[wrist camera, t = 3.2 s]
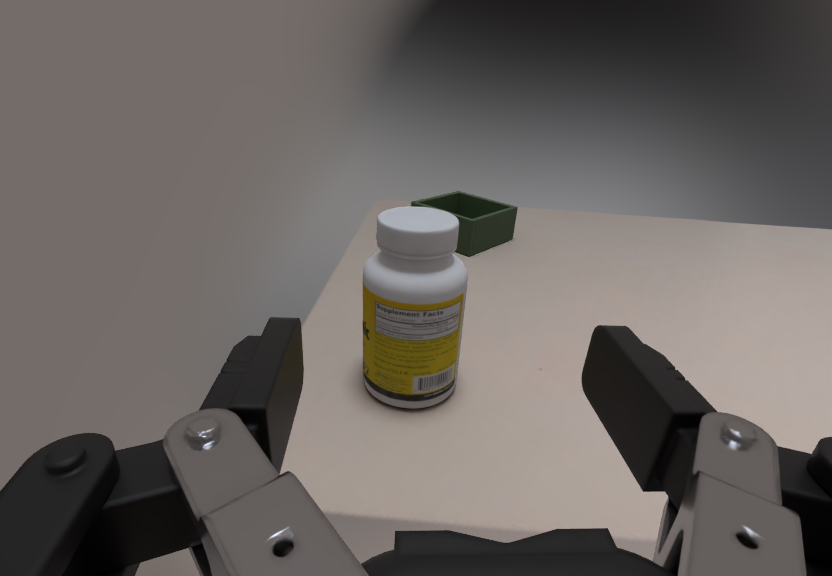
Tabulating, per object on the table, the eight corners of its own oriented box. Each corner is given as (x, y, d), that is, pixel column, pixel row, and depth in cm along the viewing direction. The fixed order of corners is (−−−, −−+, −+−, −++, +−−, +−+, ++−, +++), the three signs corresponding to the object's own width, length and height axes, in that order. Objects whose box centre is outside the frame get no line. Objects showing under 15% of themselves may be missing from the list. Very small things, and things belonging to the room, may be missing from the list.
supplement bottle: (382, 346, 29) (387, 196, 25) (464, 365, 28) (484, 211, 24) (345, 397, 25) (344, 224, 20) (442, 423, 23) (462, 244, 19)
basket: (468, 256, 44) (473, 221, 43) (409, 234, 49) (411, 201, 48) (512, 239, 50) (517, 207, 48) (455, 220, 55) (458, 190, 53)
